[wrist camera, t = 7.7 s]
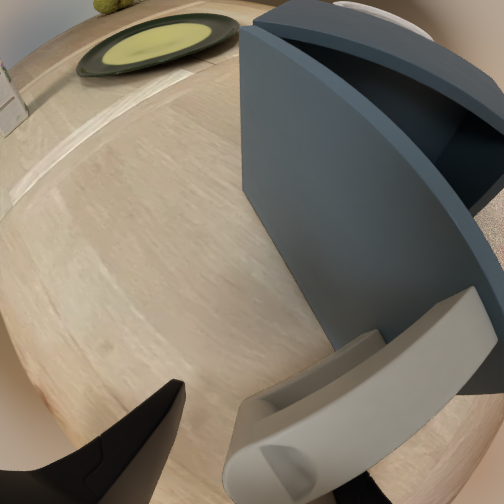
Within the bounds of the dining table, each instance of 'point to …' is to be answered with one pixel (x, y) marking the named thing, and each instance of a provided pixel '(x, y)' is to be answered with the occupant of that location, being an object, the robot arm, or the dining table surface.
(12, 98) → the syrup box
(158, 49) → the plate
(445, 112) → the cabinet
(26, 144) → the dining table surface
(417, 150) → the cabinet door
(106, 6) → the fruit
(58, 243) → the dining table surface
